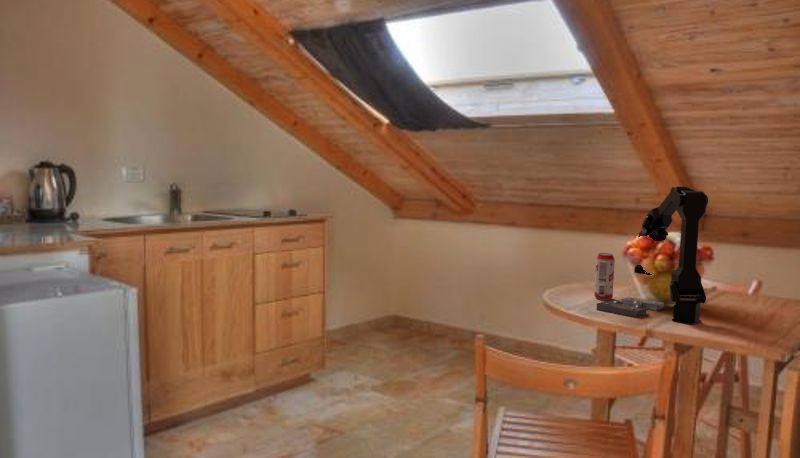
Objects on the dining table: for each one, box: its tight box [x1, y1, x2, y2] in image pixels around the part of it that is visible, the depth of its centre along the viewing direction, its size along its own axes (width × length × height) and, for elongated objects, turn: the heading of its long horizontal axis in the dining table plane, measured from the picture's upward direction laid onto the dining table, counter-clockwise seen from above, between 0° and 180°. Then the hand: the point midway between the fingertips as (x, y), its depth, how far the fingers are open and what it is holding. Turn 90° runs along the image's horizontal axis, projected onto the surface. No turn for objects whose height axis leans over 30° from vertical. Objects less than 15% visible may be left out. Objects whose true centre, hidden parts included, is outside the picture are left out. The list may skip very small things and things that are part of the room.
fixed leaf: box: [596, 300, 648, 318], centre depth 206 cm, size 14×8×2 cm, turn 42°
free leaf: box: [620, 296, 665, 312], centre depth 214 cm, size 12×8×2 cm
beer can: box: [594, 252, 616, 301], centre depth 225 cm, size 6×6×16 cm
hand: (654, 292), depth 220 cm, fingers closed
